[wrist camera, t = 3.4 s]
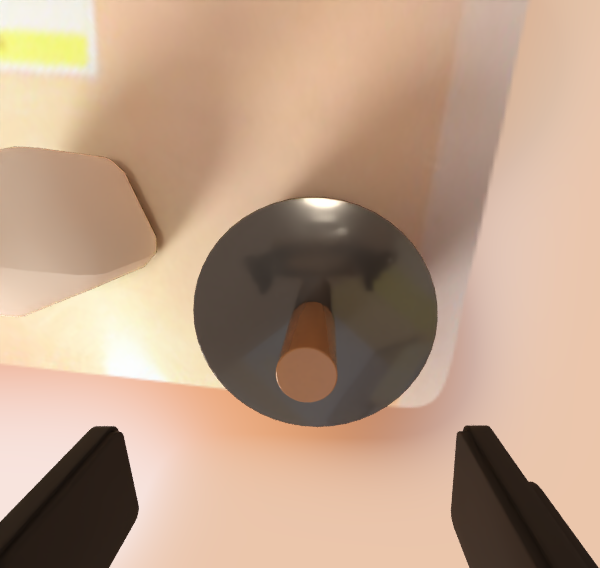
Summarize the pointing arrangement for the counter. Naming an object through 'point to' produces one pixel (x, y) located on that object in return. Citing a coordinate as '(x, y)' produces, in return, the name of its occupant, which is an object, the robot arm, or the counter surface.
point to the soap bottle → (65, 227)
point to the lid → (315, 311)
